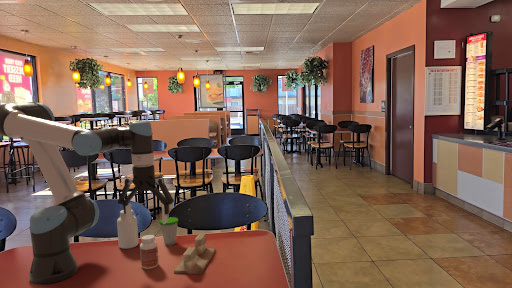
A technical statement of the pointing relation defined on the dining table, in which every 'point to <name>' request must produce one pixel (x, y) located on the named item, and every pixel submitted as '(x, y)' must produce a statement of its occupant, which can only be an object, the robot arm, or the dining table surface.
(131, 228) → the pill bottle
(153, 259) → the pill bottle
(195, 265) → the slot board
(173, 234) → the cup
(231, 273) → the dining table surface
